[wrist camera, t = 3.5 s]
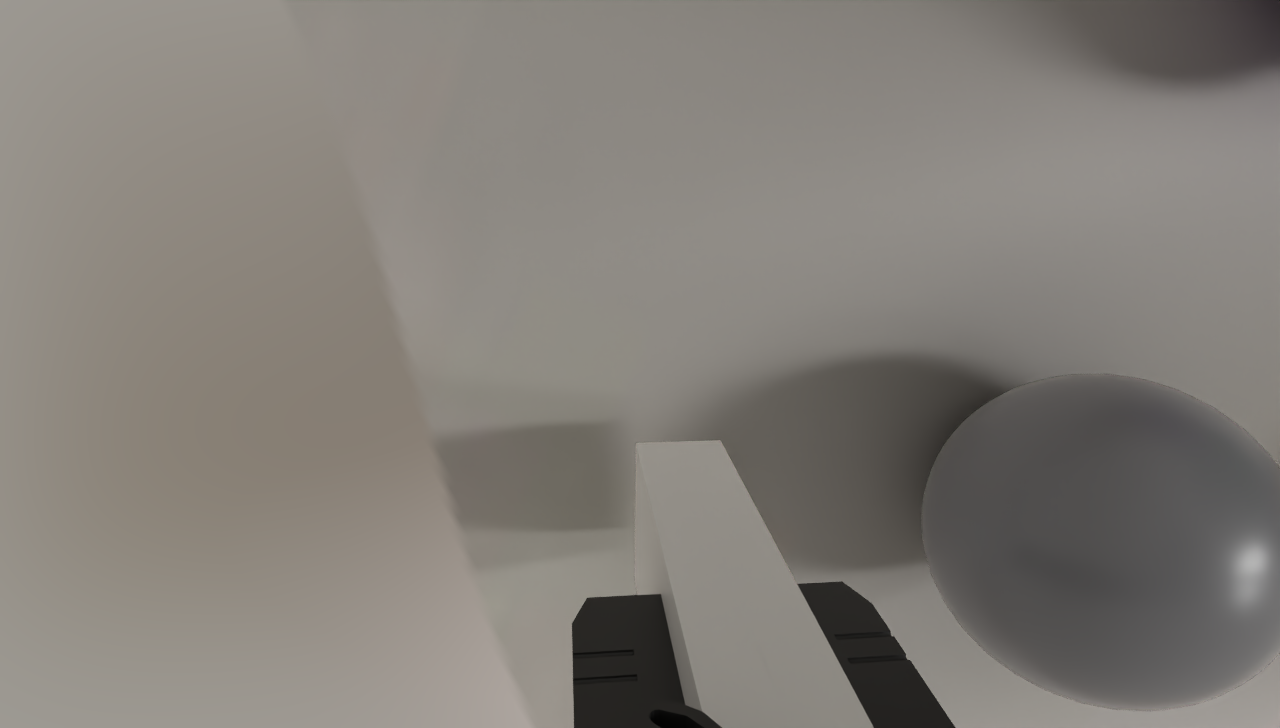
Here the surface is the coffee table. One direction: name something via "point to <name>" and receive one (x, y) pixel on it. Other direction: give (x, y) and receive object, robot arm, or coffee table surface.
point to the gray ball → (1109, 541)
